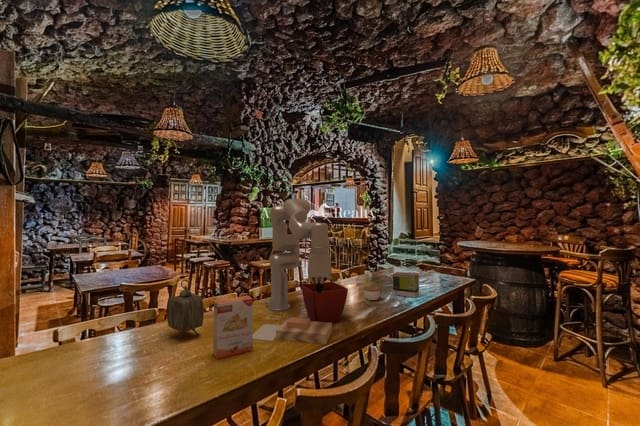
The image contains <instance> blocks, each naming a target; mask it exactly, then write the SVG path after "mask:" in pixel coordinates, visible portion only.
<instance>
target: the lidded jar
mask: <svg viewBox="0 0 640 426" xmlns="http://www.w3.org/2000/svg"><path fill="white" fill-rule="evenodd" d="M363 296H364V298H365V299H366V300H367V299H368V300H376V301H378V299H380V296H381V287H380V286H378V285H373V284H371V285H365V286H363ZM368 300H367V301H368Z"/></svg>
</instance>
